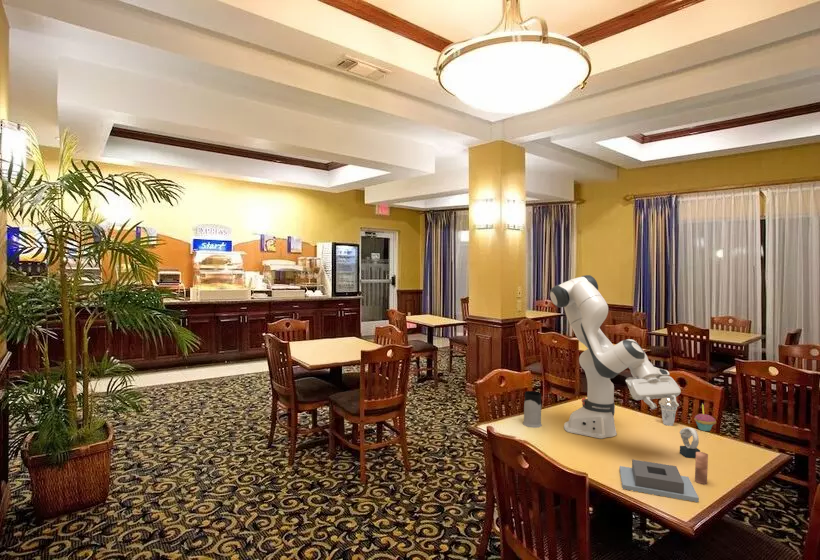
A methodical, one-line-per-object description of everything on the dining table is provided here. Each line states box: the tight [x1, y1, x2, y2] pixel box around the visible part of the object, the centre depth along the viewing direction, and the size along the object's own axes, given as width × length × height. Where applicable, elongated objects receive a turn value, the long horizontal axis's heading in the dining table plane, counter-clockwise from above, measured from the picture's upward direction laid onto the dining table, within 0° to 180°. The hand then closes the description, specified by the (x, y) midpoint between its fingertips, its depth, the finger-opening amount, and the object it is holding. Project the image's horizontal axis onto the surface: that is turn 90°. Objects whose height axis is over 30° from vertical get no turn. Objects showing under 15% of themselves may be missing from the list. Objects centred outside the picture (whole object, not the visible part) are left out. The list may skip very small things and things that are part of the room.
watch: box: [679, 427, 701, 459], centre depth 182 cm, size 6×8×11 cm
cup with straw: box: [658, 398, 680, 427], centre depth 219 cm, size 8×9×20 cm
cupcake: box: [693, 402, 717, 432], centre depth 212 cm, size 9×8×12 cm
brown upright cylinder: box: [694, 451, 709, 485], centre depth 159 cm, size 4×4×10 cm
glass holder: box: [522, 390, 543, 429], centre depth 217 cm, size 9×14×15 cm, turn 148°
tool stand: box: [619, 459, 700, 503], centre depth 156 cm, size 22×16×5 cm
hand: (665, 407), depth 172 cm, fingers open, 8 cm apart
